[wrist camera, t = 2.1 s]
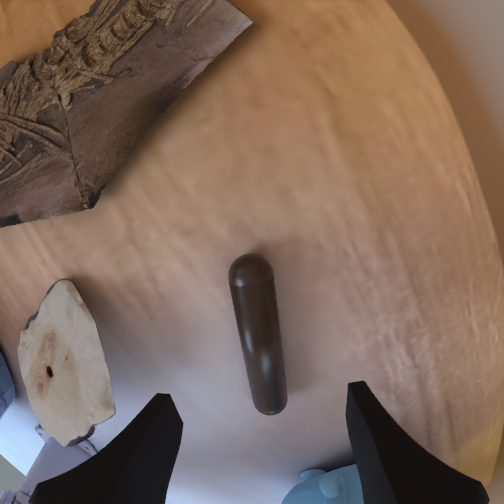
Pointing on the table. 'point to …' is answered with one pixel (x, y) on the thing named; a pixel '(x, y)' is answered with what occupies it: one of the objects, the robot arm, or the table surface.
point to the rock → (65, 367)
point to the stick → (259, 331)
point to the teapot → (327, 487)
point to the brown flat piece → (99, 97)
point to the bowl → (5, 388)
